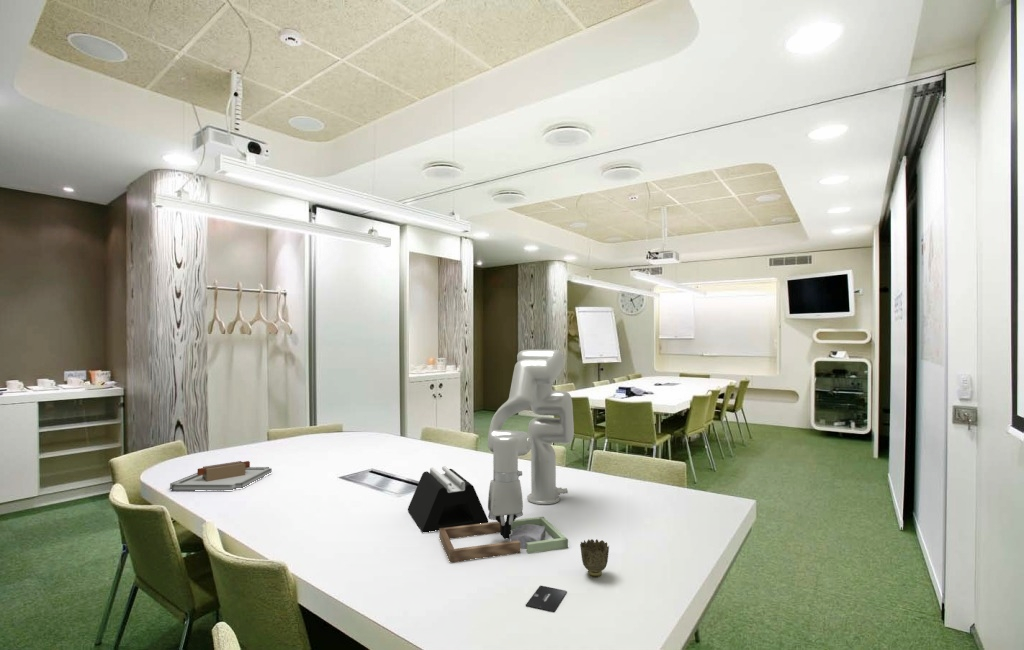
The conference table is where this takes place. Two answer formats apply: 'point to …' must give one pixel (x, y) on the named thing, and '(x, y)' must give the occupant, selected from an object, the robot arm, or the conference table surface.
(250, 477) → the grey flat square tray
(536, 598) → the solid state drive
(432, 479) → the device stand
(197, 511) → the conference table surface
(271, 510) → the conference table surface
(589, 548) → the cup
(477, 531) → the brown wooden u frame
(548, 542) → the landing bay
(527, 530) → the stone block
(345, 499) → the conference table surface
